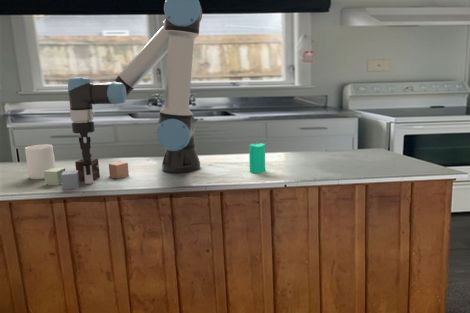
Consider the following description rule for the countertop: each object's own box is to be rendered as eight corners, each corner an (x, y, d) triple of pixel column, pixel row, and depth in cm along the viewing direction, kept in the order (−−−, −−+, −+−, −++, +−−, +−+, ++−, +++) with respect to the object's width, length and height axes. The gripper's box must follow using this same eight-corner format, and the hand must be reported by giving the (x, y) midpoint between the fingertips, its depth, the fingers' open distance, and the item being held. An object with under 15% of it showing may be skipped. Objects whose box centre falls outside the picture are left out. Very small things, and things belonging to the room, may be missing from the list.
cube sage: (66, 181, 149) (65, 168, 148) (58, 185, 144) (56, 171, 143) (54, 181, 150) (52, 167, 149) (45, 184, 145) (43, 171, 144)
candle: (267, 170, 158) (267, 139, 156) (261, 173, 153) (261, 142, 150) (253, 169, 161) (252, 138, 158) (247, 172, 155) (246, 141, 153)
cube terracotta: (128, 175, 155) (127, 162, 154) (117, 178, 151) (116, 165, 150) (120, 173, 158) (119, 161, 157) (109, 176, 155) (108, 163, 154)
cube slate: (79, 183, 145) (78, 170, 144) (78, 187, 141) (76, 173, 140) (64, 185, 144) (63, 171, 143) (62, 189, 139) (61, 174, 138)
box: (91, 181, 147) (89, 162, 146) (76, 181, 149) (74, 161, 147) (100, 177, 153) (98, 158, 152) (85, 177, 154) (83, 158, 153)
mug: (24, 180, 152) (19, 149, 150) (39, 172, 164) (35, 143, 161) (49, 179, 152) (45, 148, 150) (62, 171, 164) (59, 142, 161)
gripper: (95, 124, 136) (101, 185, 141) (92, 117, 159) (97, 170, 164) (71, 126, 134) (78, 188, 138) (71, 118, 156) (77, 172, 161)
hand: (88, 178), depth 151 cm, fingers open, 13 cm apart
